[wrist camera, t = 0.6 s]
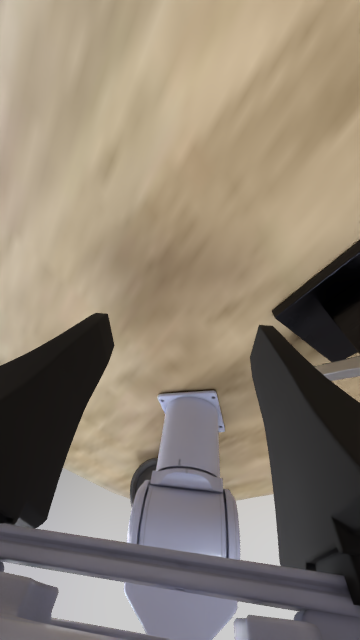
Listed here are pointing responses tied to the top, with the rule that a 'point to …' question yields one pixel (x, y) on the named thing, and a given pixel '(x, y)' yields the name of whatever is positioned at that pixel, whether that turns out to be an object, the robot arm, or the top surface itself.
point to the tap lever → (341, 369)
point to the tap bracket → (328, 308)
